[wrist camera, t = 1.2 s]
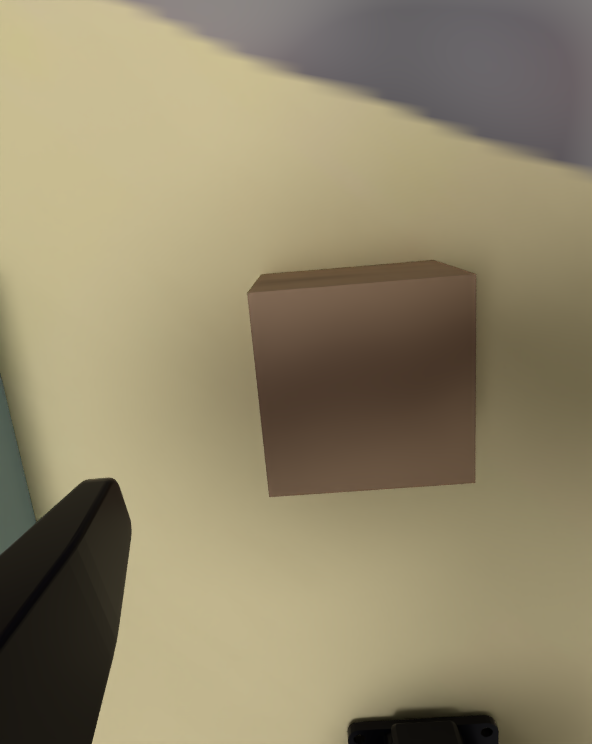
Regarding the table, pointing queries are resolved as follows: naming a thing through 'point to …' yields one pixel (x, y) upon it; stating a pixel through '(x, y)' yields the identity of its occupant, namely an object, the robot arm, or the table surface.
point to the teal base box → (12, 483)
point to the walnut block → (366, 377)
